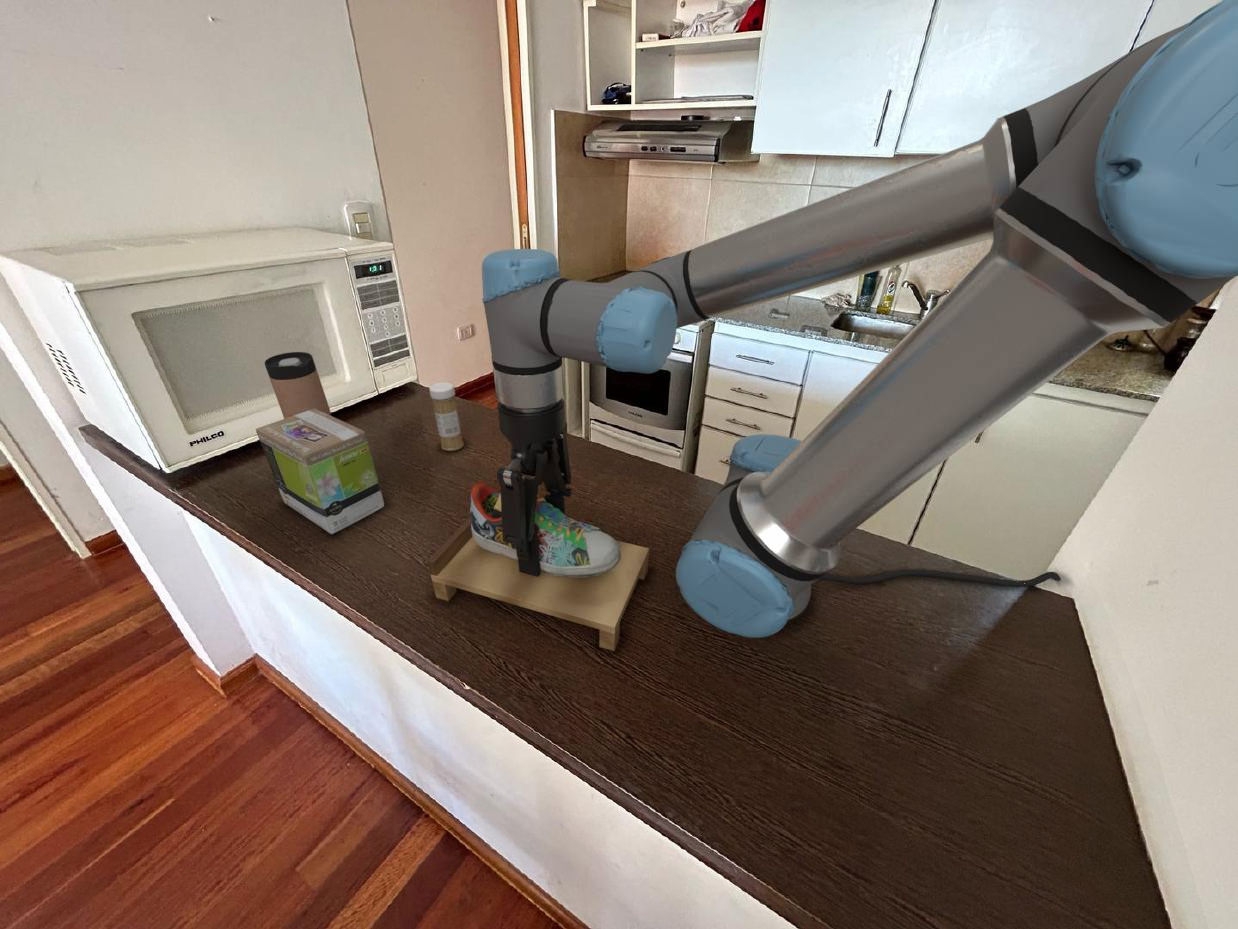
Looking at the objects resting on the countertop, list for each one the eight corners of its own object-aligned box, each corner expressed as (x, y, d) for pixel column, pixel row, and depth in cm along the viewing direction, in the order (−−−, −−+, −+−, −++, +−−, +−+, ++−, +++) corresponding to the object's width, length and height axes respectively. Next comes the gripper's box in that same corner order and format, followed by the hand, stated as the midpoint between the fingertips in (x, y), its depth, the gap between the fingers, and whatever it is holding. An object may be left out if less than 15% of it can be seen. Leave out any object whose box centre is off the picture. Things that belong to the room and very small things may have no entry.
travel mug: (304, 448, 103) (269, 353, 92) (345, 443, 105) (316, 349, 94) (295, 468, 97) (258, 368, 86) (340, 462, 99) (308, 364, 88)
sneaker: (608, 592, 64) (606, 531, 58) (460, 553, 70) (447, 495, 64) (627, 553, 70) (627, 495, 64) (490, 521, 76) (480, 465, 70)
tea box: (387, 506, 87) (366, 430, 80) (331, 537, 80) (302, 457, 72) (338, 477, 94) (314, 405, 87) (282, 504, 87) (251, 427, 80)
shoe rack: (647, 570, 75) (650, 535, 72) (614, 651, 63) (615, 613, 60) (493, 531, 82) (488, 497, 78) (436, 597, 70) (427, 561, 66)
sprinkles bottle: (464, 440, 107) (454, 380, 100) (463, 451, 103) (453, 389, 96) (441, 442, 106) (429, 382, 99) (440, 453, 102) (427, 391, 95)
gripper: (540, 364, 66) (550, 505, 79) (448, 433, 50) (479, 598, 62) (594, 371, 64) (596, 515, 77) (516, 447, 48) (534, 614, 60)
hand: (543, 552), depth 69 cm, fingers closed on sneaker, 7 cm apart
